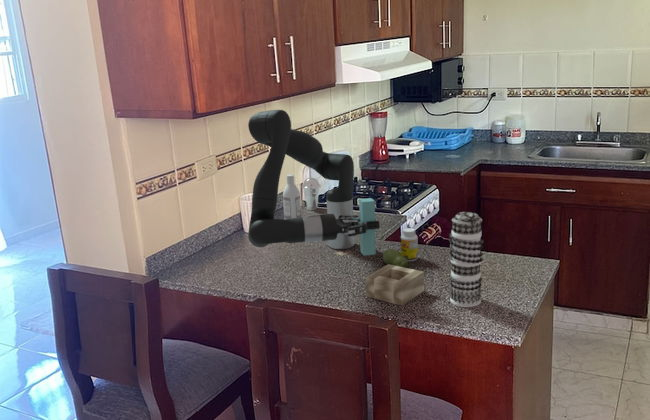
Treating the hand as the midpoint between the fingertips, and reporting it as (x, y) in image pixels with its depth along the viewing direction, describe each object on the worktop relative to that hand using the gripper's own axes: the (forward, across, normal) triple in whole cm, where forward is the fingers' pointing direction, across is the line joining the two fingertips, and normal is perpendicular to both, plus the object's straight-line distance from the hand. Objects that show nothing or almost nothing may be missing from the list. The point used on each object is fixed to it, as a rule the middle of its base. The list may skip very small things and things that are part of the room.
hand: (376, 222), depth 178 cm
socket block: (+3, -7, +20) cm, 21 cm away
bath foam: (-15, +75, +20) cm, 79 cm away
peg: (-3, 0, +9) cm, 9 cm away
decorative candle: (+20, -17, +20) cm, 33 cm away
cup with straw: (-3, +94, +20) cm, 96 cm away
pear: (+10, +15, +20) cm, 27 cm away
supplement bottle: (+16, +19, +20) cm, 32 cm away
